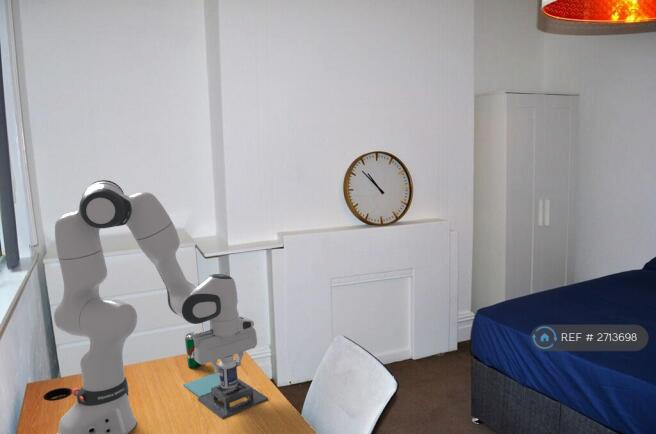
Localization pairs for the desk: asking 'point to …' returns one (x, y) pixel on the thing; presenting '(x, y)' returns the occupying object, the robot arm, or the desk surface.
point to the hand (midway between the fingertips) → (227, 369)
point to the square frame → (231, 399)
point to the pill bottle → (228, 372)
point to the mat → (203, 385)
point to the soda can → (191, 350)
